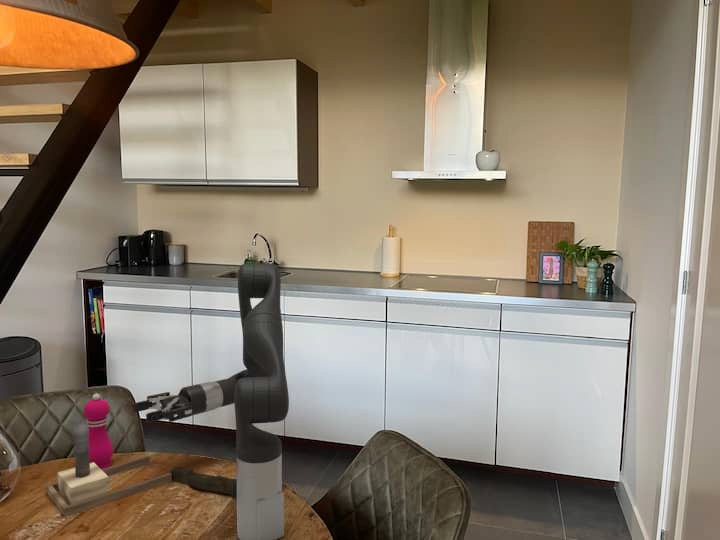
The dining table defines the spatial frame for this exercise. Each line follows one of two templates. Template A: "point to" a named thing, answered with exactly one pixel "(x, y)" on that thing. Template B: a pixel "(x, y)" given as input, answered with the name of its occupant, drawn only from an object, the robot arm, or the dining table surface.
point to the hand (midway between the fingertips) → (139, 413)
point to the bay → (110, 496)
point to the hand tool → (204, 481)
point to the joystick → (82, 472)
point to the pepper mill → (98, 432)
